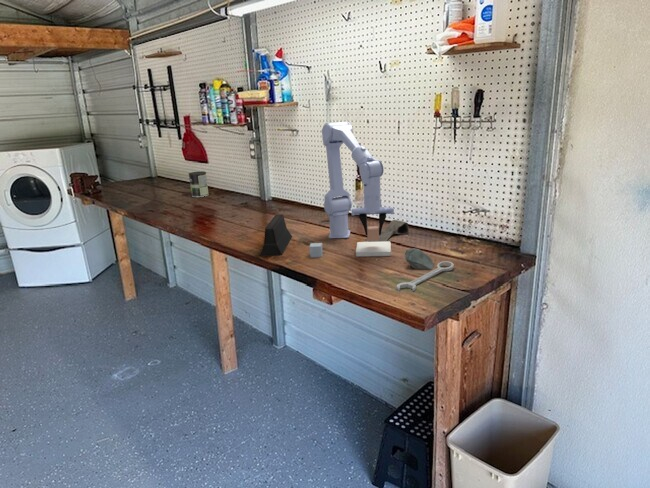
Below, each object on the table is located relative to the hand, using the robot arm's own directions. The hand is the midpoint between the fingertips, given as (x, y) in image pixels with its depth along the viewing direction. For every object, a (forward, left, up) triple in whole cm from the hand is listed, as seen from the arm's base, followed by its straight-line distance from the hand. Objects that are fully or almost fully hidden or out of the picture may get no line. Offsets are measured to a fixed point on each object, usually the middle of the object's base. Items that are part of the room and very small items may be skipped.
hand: (373, 234), depth 166 cm
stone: (+15, +16, -6) cm, 23 cm away
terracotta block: (0, 0, -2) cm, 2 cm away
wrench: (+27, +16, -7) cm, 32 cm away
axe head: (-17, +5, -7) cm, 19 cm away
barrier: (-8, -37, -7) cm, 38 cm away
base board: (0, 0, -6) cm, 6 cm away
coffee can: (-114, -108, -6) cm, 157 cm away
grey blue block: (+4, -20, -6) cm, 21 cm away
